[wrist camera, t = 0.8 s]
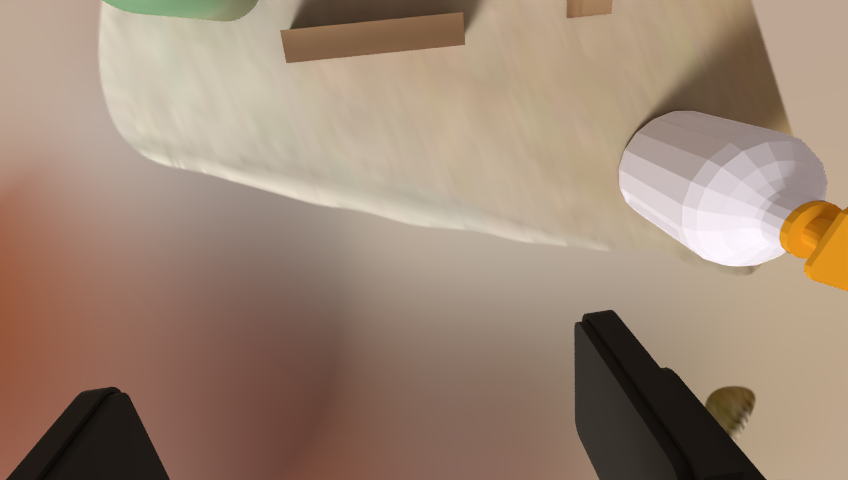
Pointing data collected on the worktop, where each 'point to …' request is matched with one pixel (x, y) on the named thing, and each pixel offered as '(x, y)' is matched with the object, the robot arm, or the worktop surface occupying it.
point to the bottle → (188, 8)
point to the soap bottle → (736, 193)
